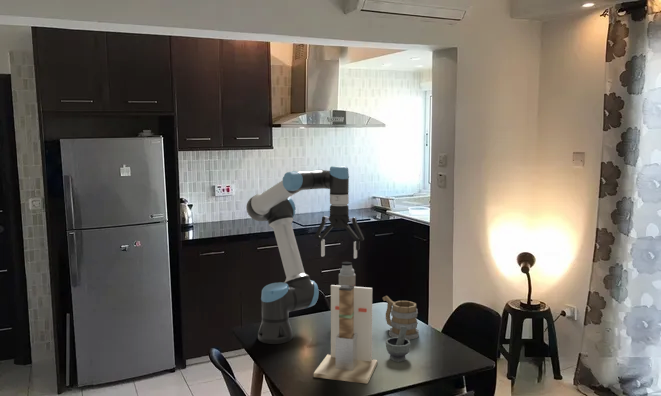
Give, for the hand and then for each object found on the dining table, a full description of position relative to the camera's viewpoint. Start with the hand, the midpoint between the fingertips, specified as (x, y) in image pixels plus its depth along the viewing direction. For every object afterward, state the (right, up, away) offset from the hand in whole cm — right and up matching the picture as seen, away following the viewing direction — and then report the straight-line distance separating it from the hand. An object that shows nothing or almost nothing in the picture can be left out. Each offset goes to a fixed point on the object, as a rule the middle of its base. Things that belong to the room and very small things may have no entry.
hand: (339, 257), depth 220 cm
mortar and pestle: (+23, -40, -5) cm, 46 cm away
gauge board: (+4, -38, -10) cm, 40 cm away
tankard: (+27, -37, +24) cm, 52 cm away
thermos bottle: (+4, -35, +41) cm, 54 cm away
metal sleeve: (+3, -39, -16) cm, 43 cm away
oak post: (+3, -33, -17) cm, 37 cm away
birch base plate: (+2, -41, -16) cm, 44 cm away
